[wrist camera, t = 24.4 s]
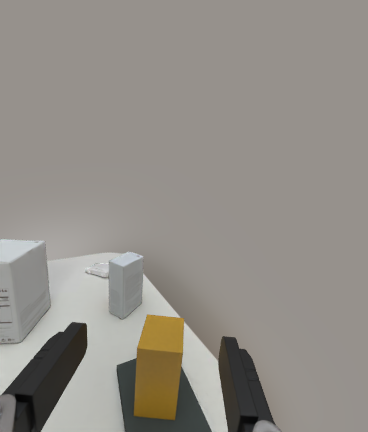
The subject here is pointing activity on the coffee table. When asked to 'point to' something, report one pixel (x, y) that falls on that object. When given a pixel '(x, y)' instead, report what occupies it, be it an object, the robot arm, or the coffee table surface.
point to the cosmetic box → (125, 284)
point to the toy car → (99, 269)
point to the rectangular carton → (22, 287)
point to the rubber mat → (153, 427)
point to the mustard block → (159, 367)
